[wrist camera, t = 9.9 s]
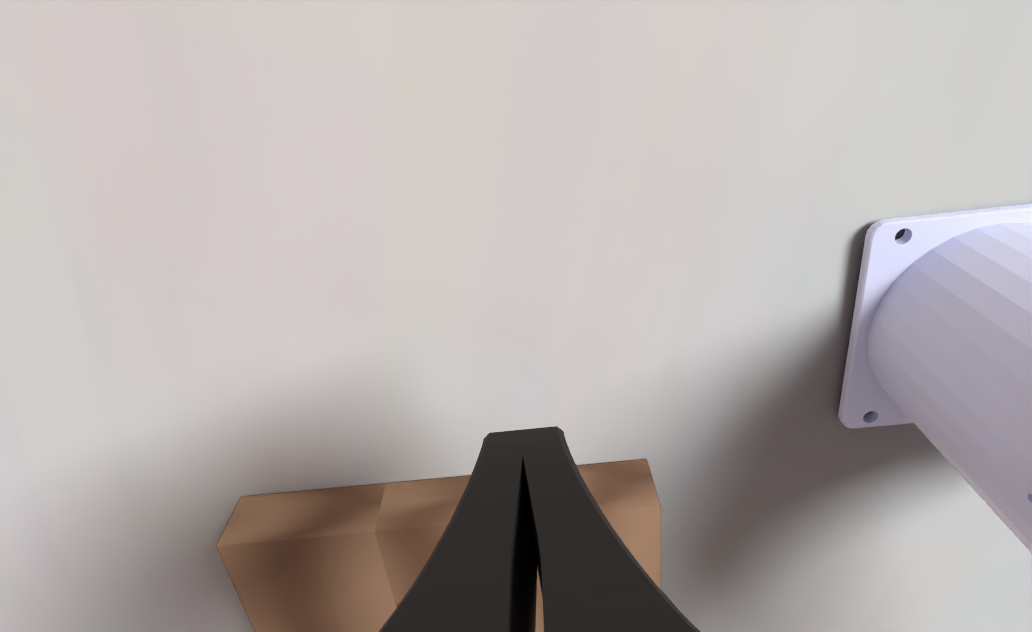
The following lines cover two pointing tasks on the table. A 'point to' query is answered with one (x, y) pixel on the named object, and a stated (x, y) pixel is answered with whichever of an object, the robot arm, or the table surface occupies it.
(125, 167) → the table surface
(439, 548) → the robot arm
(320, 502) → the board
